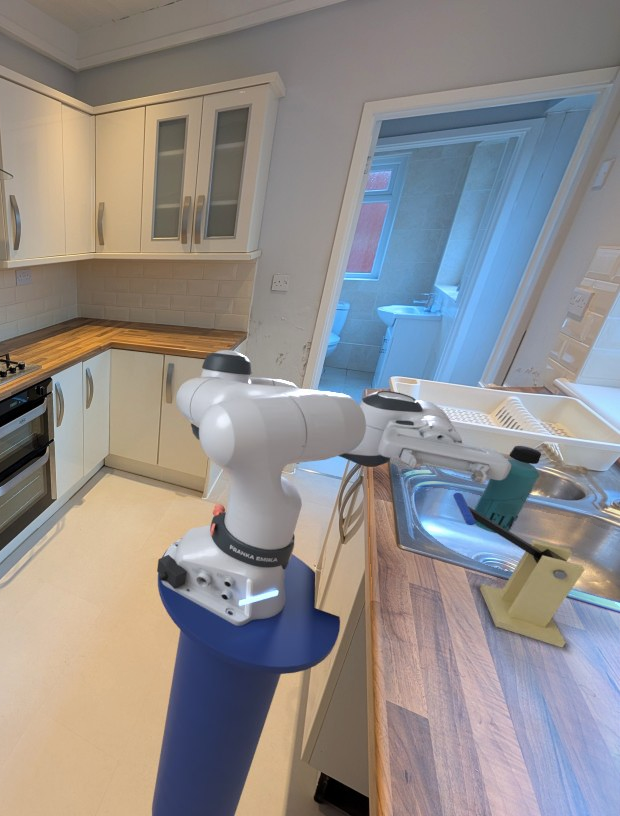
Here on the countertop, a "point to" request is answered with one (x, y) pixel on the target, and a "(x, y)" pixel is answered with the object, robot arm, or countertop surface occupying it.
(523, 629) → the switch bracket
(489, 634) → the countertop surface
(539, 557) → the lever
